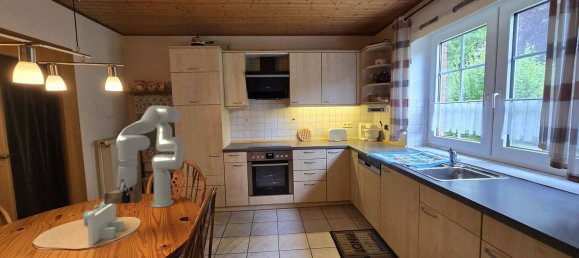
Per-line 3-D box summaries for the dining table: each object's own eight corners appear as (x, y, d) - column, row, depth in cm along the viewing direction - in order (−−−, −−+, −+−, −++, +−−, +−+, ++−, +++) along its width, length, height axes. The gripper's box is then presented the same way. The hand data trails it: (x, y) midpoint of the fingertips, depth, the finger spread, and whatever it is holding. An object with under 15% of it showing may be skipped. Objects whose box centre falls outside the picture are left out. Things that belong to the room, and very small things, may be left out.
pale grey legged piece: (112, 225, 127) (111, 198, 126) (128, 224, 128) (127, 197, 128) (87, 246, 107) (86, 213, 106) (106, 244, 108) (105, 213, 108)
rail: (104, 204, 115) (104, 193, 115) (109, 201, 119) (108, 190, 118) (138, 202, 117) (138, 192, 117) (141, 200, 121) (141, 189, 121)
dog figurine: (114, 219, 134) (114, 199, 134) (85, 228, 124) (85, 206, 123) (110, 217, 137) (110, 197, 137) (81, 225, 126) (80, 204, 126)
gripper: (127, 160, 125) (127, 196, 126) (109, 166, 109) (110, 208, 109) (143, 160, 126) (143, 195, 127) (128, 166, 110) (128, 207, 111)
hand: (128, 201), depth 118 cm, fingers closed on rail, 4 cm apart
